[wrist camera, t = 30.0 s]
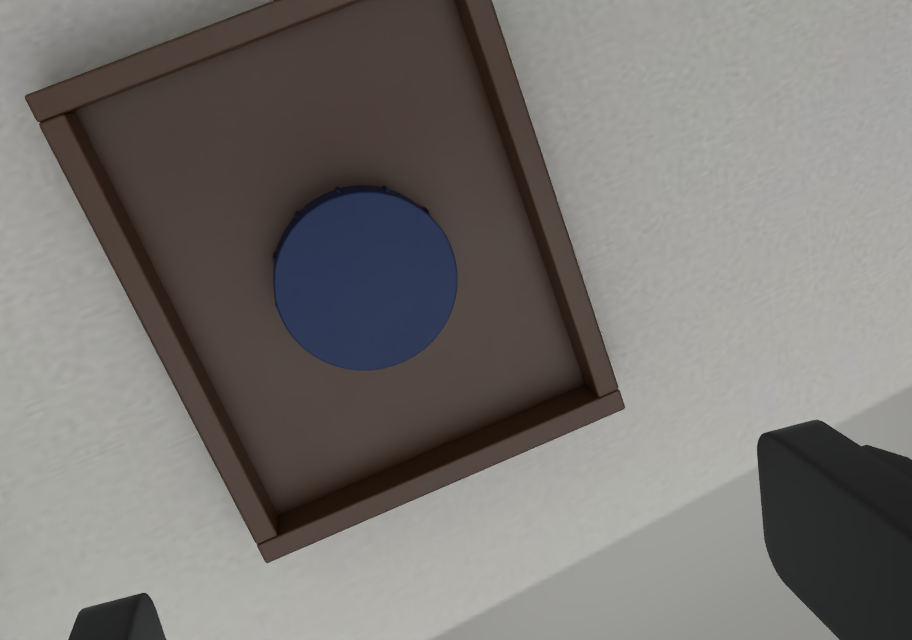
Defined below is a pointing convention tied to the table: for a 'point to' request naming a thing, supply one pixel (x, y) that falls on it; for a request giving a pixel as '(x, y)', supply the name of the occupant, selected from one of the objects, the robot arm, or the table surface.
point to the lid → (364, 278)
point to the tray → (289, 190)
